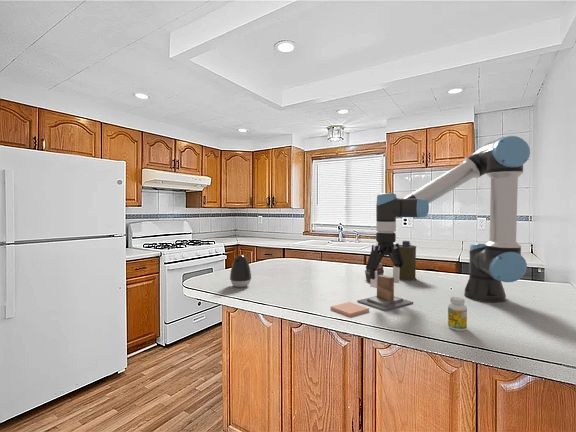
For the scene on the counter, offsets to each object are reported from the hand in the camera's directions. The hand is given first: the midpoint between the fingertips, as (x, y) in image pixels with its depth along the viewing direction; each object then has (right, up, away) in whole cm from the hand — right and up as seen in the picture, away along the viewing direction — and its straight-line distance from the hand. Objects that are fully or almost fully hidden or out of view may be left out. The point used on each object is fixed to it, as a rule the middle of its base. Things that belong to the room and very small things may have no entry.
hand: (385, 284), depth 133 cm
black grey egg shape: (-62, -6, +27) cm, 68 cm away
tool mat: (0, -7, 0) cm, 7 cm away
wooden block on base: (0, -7, 0) cm, 7 cm away
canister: (+24, -6, +45) cm, 51 cm away
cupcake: (+6, -6, +39) cm, 40 cm away
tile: (-12, -7, -7) cm, 15 cm away
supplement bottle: (+15, -8, -27) cm, 32 cm away
